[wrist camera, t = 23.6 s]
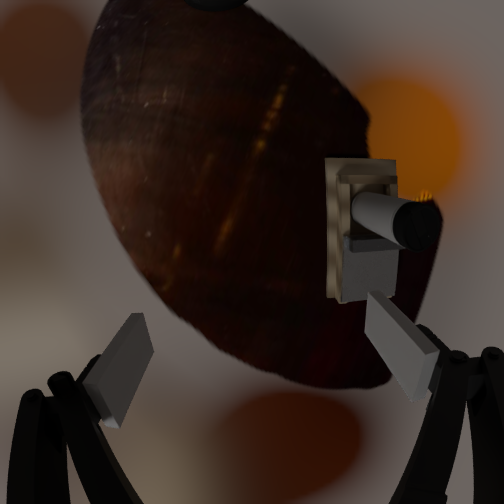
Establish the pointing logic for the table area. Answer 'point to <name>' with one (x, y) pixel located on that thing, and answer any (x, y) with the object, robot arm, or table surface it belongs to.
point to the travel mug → (396, 219)
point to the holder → (338, 205)
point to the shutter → (368, 266)
